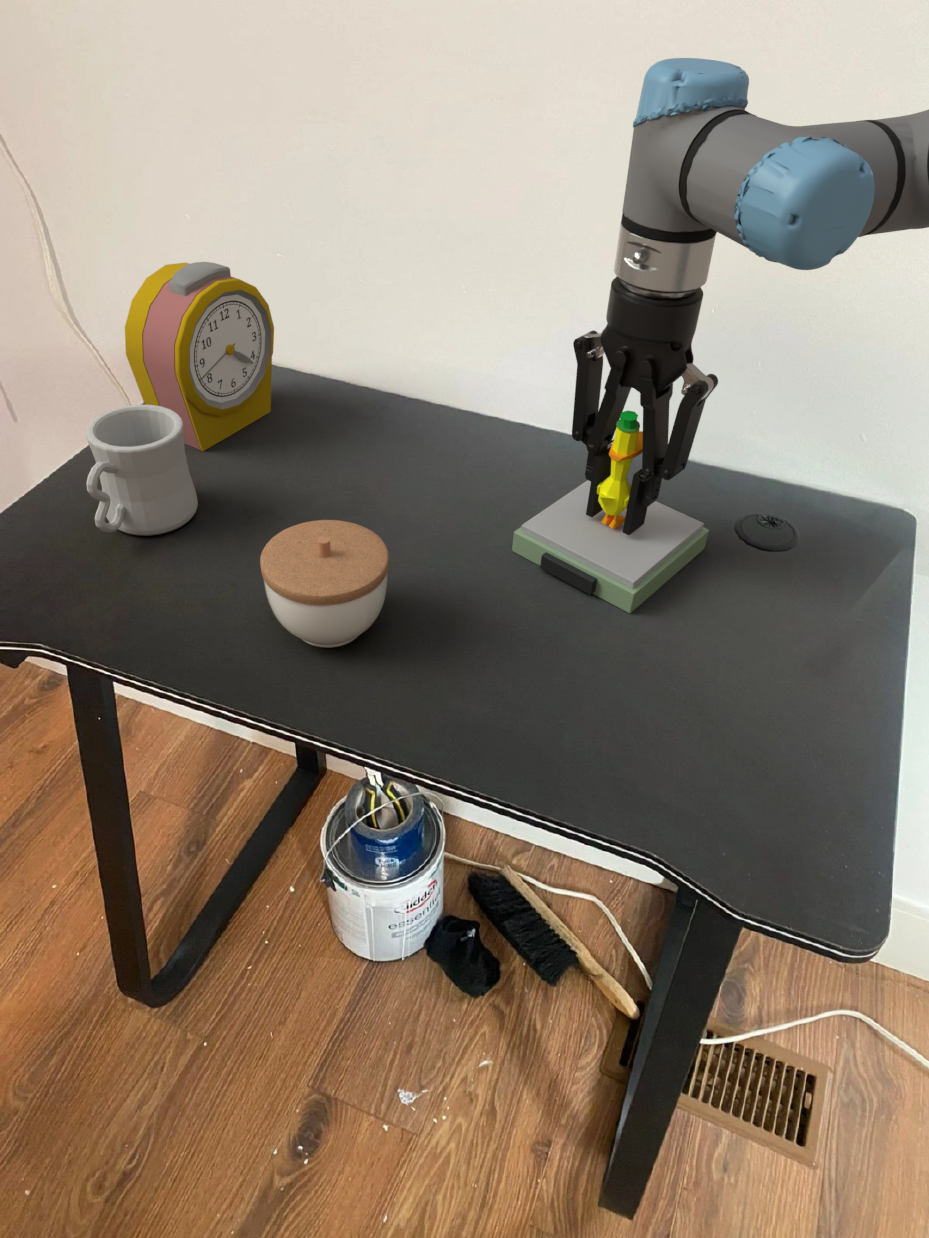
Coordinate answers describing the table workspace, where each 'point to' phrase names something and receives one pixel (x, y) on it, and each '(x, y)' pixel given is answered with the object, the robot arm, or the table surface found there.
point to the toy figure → (620, 469)
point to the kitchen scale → (610, 548)
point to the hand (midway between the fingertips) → (614, 518)
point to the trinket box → (325, 580)
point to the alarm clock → (202, 349)
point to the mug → (140, 470)
